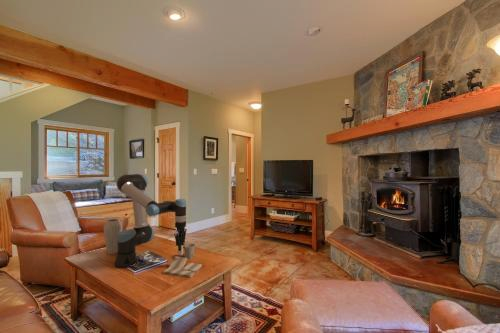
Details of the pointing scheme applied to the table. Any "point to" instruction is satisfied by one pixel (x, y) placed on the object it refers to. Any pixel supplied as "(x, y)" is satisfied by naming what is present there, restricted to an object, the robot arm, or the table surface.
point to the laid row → (179, 272)
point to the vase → (112, 235)
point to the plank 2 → (192, 267)
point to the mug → (189, 250)
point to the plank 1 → (178, 263)
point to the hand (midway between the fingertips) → (180, 254)
